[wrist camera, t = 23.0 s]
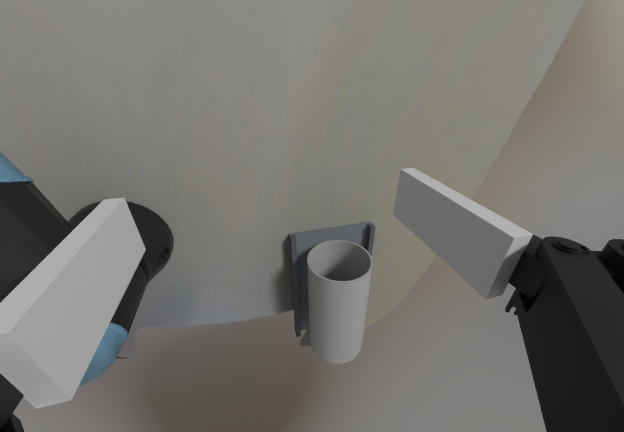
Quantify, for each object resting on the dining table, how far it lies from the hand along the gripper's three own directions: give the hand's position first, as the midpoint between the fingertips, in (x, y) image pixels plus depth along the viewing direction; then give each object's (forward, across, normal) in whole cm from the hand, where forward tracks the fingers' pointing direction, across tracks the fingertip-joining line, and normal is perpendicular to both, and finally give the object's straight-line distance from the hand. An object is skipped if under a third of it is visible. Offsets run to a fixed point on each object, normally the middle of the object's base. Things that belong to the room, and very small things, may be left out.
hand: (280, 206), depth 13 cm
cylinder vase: (+25, +14, -51) cm, 59 cm away
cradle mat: (+32, +14, -38) cm, 51 cm away
